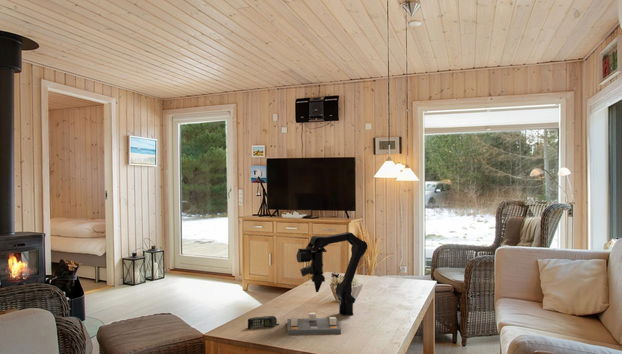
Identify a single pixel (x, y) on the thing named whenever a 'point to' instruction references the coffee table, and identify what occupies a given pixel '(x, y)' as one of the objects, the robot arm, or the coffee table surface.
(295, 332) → the switch plate
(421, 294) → the coffee table surface
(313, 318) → the tab middle
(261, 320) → the mobile phone
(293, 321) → the tab
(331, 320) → the tab
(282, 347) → the coffee table surface
